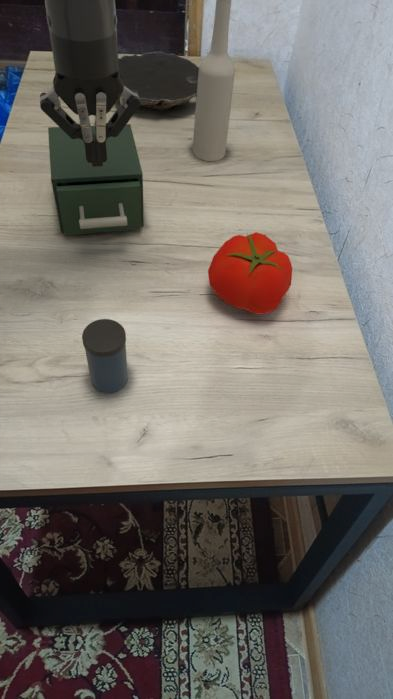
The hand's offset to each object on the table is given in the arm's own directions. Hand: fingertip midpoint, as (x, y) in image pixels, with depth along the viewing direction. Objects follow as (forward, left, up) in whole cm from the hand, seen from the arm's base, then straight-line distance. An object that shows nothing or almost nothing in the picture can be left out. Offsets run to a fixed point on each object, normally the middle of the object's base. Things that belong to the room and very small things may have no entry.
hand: (96, 163), depth 69 cm
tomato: (+20, -15, -14) cm, 29 cm away
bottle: (+23, +24, -14) cm, 36 cm away
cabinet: (0, +10, -14) cm, 17 cm away
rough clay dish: (+16, +47, -14) cm, 52 cm away
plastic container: (-2, -27, -14) cm, 30 cm away
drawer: (0, +6, -13) cm, 14 cm away
